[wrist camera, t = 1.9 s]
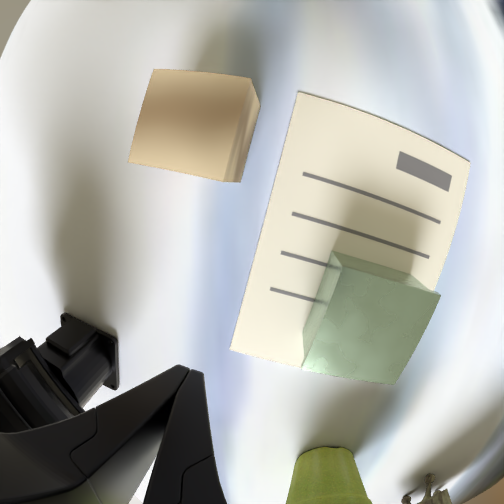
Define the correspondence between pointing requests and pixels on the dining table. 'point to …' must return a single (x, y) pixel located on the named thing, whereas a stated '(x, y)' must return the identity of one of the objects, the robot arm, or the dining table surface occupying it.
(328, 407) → the dining table surface
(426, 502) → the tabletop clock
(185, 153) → the cube
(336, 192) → the letter
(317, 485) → the plant pot
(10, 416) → the robot arm
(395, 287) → the translucent green block
